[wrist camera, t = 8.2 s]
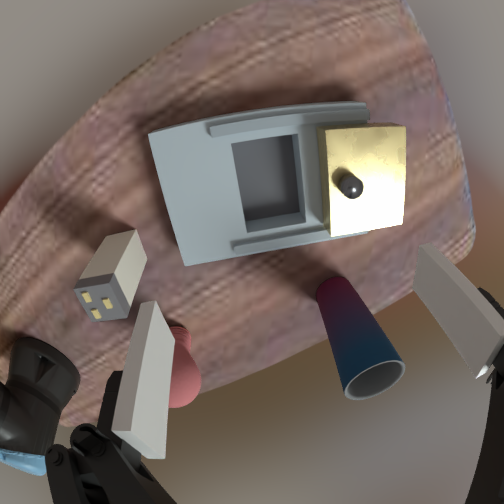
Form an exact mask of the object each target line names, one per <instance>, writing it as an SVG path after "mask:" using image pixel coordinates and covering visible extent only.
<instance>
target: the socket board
mask: <svg viewBox="0 0 504 504" xmlns="http://www.w3.org/2000/svg"><path fill="white" fill-rule="evenodd" d="M367 120H370V112H369V109H366V103H364V102H357V101H337V102H320V103H307V104H295V105H286V106H277V107H269V108H261V109H254V110H248V111H241V112H235V113H229V114H224V115H218V116H213V117H208V118H203V119H199V120H194V121H190V122H185V123H181V124H177V125H173V126H169V127H165V128H161V129H157V130H154V131H152V132H151V133H149V134H148V137H149V141H150V145H151V150H152V154H153V158H154V161H155V165H156V169H157V173H158V177H159V181H160V184H161V188H162V192H163V195H164V199H165V202H166V206H167V209H168V213H169V216H170V220H171V223H172V226H173V230H174V233H175V236H176V240H177V243H178V246H179V249H180V252H181V255H182V259H183V262H184V265H185V266H189V265H195V264H200V263H206V262H212V261H217V260H223V259H228V258H234V257H239V256H245V255H250V254H256V253H261V252H267V251H272V250H278V249H283V248H289V247H294V246H300V245H305V244H311V243H316V242H322V241H327V240H333V239H338V238H343V237H349V236H354V235H360V234H365V233H368V231H370V230H366V231H360V232H354V233H349V234H343V235H338V236H332V237H331V236H330V234H329V233H328V231H327V230H326V229H325V227H324V226H323V211H322V193H321V177H320V164H319V152H318V140H317V130H316V127H318V126H329V125H343V124H360V123H367Z"/></svg>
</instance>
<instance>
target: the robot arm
mask: <svg viewBox="0 0 504 504" xmlns="http://www.w3.org/2000/svg"><path fill="white" fill-rule="evenodd" d="M412 288H413V290H414V291H415V292H416V294H417V295H418V296H419V297H420V299H421V300H422V301H423V303H424V304H425V305H426V307H427V308H428V309H429V311H430V312H431V313H432V315H433V316H434V317H435V319H436V320H437V322H438V323H439V324H440V326H441V327H442V329H443V330H444V332H445V333H446V334H447V336H448V337H449V339H450V340H451V342H452V343H453V344H454V346H455V348H456V349H457V351H458V352H459V354H460V355H461V356H462V358H463V360H464V361H465V363H466V364H467V366H468V367H469V369H470V371H471V372H472V374H473V376H474V377H475V379H476V378H478V377H479V376H481V375H483V374H484V373H486V372H487V371H488V369H489V368H490V366H491V365H492V364H493V365H494V367H495V369H494V370H493V371H492V373H491V374H490V376H489V377H488V379H487V382H486V383H489V381H490V380H491V378H492V382H491V384H492V387H491V396H490V404H489V411H488V417H487V423H486V429H485V434H484V439H483V443H482V448H481V453H480V456H479V460H478V464H477V468H476V471H475V474H474V478H473V481H472V484H471V487H470V490H469V493H468V497H467V499H466V502H465V504H504V309H503V308H502V307H500V305H499V303H498V302H496V301H495V299H494V298H493V297H492V296H491V295H490V294H489V293H488V292H487V291H485V290H483V289H482V288H476V287H475V286H474V285H473V284H472V283H471V282H470V281H469V280H468V279H467V278H466V277H465V276H464V275H463V274H462V273H461V272H460V271H459V269H458V268H457V267H456V266H455V265H454V264H453V263H452V262H451V261H449V260H448V259H447V258H446V257H445V256H444V255H443V254H442V253H441V252H440V251H439V250H438V249H437V248H436V247H435V246H434V245H433V244H432V243H427V244H423V245H419V252H418V259H417V265H416V271H415V276H414V281H413V287H412ZM174 345H175V339H174V337H173V335H172V333H171V331H170V329H169V327H168V325H167V323H166V321H165V319H164V317H163V315H162V313H161V311H160V309H159V307H158V305H157V302H156V301H150V302H144V303H141V305H140V308H139V312H138V315H137V319H136V323H135V326H134V330H133V334H132V338H131V341H130V345H129V349H128V353H127V357H126V361H125V366H124V370H123V371H113V373H112V374H111V376H110V377H109V379H108V381H107V384H106V388H105V393H104V396H103V402H102V405H101V410H100V414H99V419H98V424H97V428H96V427H95V426H94V425H91V424H89V423H84V424H81V425H79V426H77V427H76V428H75V429H74V430H73V432H72V434H71V437H70V444H71V448H70V449H67V448H66V447H64V446H63V445H60V444H54V439H55V435H56V431H57V427H58V423H59V419H60V416H61V412H62V410H63V409H64V407H65V406H66V405H67V404H68V402H69V401H70V399H71V398H72V396H73V395H75V393H76V392H77V390H78V387H79V384H80V375H79V372H78V370H77V369H76V367H75V366H74V365H73V364H72V363H71V361H70V360H69V359H67V358H66V357H65V356H64V355H63V354H62V353H60V352H59V351H57V350H56V349H54V348H53V347H51V346H49V345H48V344H46V343H44V342H41V341H39V340H36V339H32V338H20V339H18V340H17V341H16V342H15V344H14V346H13V348H12V350H11V358H10V364H9V373H8V379H7V382H6V384H5V385H4V384H3V383H2V382H0V461H1V462H3V463H5V464H7V465H10V466H12V467H14V468H16V469H19V470H22V471H24V472H28V473H30V474H33V475H38V476H41V475H44V474H45V473H46V471H47V476H48V481H49V486H50V490H51V494H52V499H53V503H54V504H177V503H176V502H175V501H174V500H173V499H172V497H171V496H170V495H169V494H168V493H167V492H166V491H165V490H164V488H163V487H162V486H161V485H160V484H159V482H158V481H157V480H156V479H155V478H154V476H153V475H152V474H151V473H150V471H149V470H148V469H147V468H146V466H145V465H144V464H143V463H142V462H141V454H142V455H144V456H145V457H146V458H150V459H165V449H166V432H167V417H168V404H169V393H170V382H171V372H172V362H173V353H174ZM53 444H54V445H53Z"/></svg>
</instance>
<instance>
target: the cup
mask: <svg viewBox="0 0 504 504" xmlns="http://www.w3.org/2000/svg"><path fill="white" fill-rule="evenodd" d="M316 299H317V302H318V305H319V308H320V312H321V315H322V318H323V321H324V325H325V328H326V331H327V335H328V338H329V341H330V345H331V348H332V352H333V355H334V358H335V362H336V365H337V369H338V373H339V376H340V380H341V383H342V387H343V391H344V394H345V396H346V397H347V398H349V399H352V400H362V399H367V398H370V397H373V396H376V395H378V394H380V393H382V392H384V391H385V390H387V389H389V388H390V387H391V386H393V385H394V384H395V383H396V382H397V381H398V380H399V379H400V378H401V376H402V375H403V373H404V371H405V364H404V363H403V361H402V359H401V358H400V356H399V355H398V353H397V352H396V350H395V348H394V347H393V345H392V344H391V342H390V341H389V339H388V338H387V336H386V335H385V333H384V332H383V330H382V329H381V327H380V326H379V324H378V323H377V321H376V320H375V318H374V317H373V315H372V314H371V312H370V311H369V309H368V308H367V306H366V305H365V304H364V302H363V301H362V299H361V298H360V296H359V295H358V293H357V292H356V291H355V289H354V288H353V286H352V285H351V284H350V282H349V281H348V280H347V279H345V278H343V277H333V278H330V279H328V280H326V281H325V282H323V283H322V284H321V285H320V287H319V288H318V290H317V293H316Z"/></svg>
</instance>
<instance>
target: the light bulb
mask: <svg viewBox="0 0 504 504" xmlns="http://www.w3.org/2000/svg"><path fill="white" fill-rule="evenodd" d="M169 329H170V331H171V333H172V335H173V337H174V339H175V345H174V353H173V362H172V372H171V382H170V393H169V404H168V407H171V408H177V407H182V406H185V405H186V404H188V403H190V402H191V401H192V400H193V399H194V398H195V397H196V396H197V394H198V392H199V390H200V386H201V375H200V372H199V369H198V367H197V365H196V363H195V361H194V360H193V358H192V357H191V355H190V347H191V335H190V333H189V331H188V330H186V329H184V328H182V327H177V326H175V327H170V328H169Z"/></svg>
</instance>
